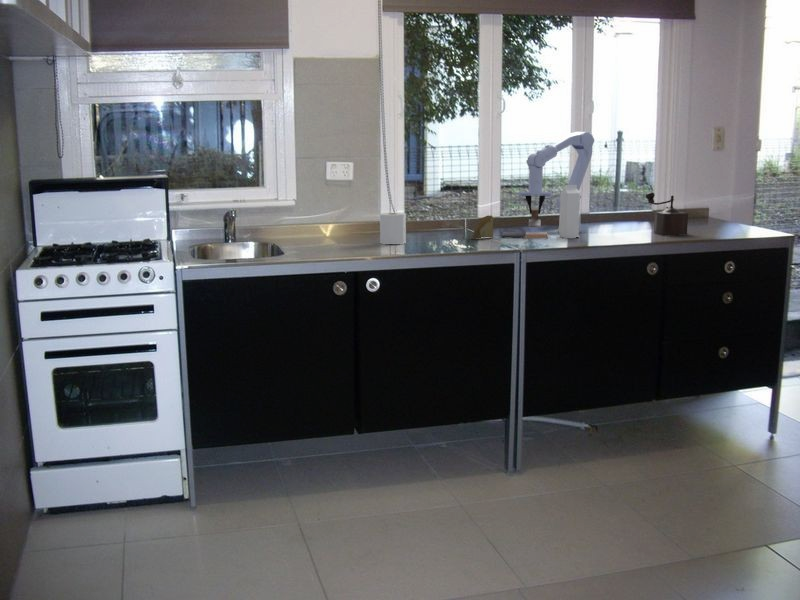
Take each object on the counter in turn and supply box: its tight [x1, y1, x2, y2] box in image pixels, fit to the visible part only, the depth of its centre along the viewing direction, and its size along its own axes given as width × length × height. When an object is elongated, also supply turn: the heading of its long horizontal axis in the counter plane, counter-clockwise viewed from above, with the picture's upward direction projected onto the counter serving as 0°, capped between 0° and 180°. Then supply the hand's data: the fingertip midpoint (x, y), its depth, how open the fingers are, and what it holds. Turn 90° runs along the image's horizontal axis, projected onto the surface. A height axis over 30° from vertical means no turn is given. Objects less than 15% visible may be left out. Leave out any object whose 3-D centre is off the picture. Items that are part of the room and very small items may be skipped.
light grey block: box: [379, 212, 407, 245], centre depth 351 cm, size 10×10×12 cm
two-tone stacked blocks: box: [528, 206, 542, 228], centre depth 373 cm, size 5×12×5 cm, turn 171°
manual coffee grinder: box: [644, 191, 689, 236], centre depth 372 cm, size 16×11×18 cm
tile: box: [525, 231, 548, 239], centre depth 367 cm, size 9×2×8 cm
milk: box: [558, 184, 581, 239], centre depth 364 cm, size 6×6×22 cm
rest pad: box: [501, 231, 525, 239], centre depth 372 cm, size 9×12×1 cm
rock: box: [471, 214, 494, 240], centre depth 365 cm, size 11×9×10 cm
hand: (534, 213), depth 377 cm, fingers closed on two-tone stacked blocks, 3 cm apart
